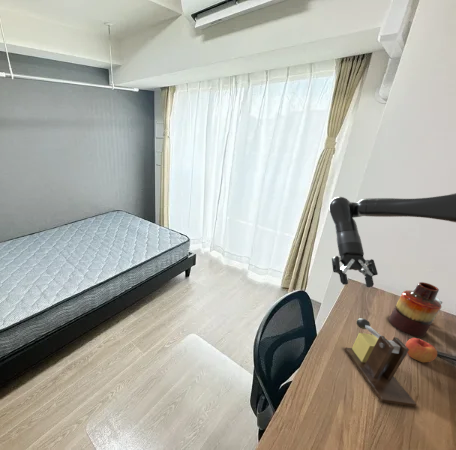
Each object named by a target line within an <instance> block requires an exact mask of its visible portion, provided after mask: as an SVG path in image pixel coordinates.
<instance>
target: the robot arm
mask: <svg viewBox="0 0 456 450" xmlns="http://www.w3.org/2000/svg"><path fill="white" fill-rule="evenodd" d="M328 210H329V214H330V216H331V218H332V221H333V223H334V229H335V234H336V244H337V248H338V249H337V250H338V255H339V256H338V255H336V256H333V257H331V265H332V273H337V274H338V275H339V280H340V283H341V284H342V285H344V286H346V285H349V280H348V276H347V272H348V270H350V271H351V270H353V271H358V272H359V273H360V274H362V275H363V276H364V281H365V287H366V288H373V287H374V285H375V283H374V278H373V277H375V276H378V274H379V273H378V270H377V266H376V263H375V260H374V259H372V258H371V259H365V257H364V256H365V255H364V254H365V253H364V248H363V244H362V240H361V236H360V234H359V230H358V226H357V222H356V220H355V219H354V218H361V217H371V218H373V217H378V218H380V217H381V218H391V217H392V218H395V217H397V218H398V217H405V218H406V217H407V218H423V219H433V220H439V221H446V222H451V223H456V192H454V193H450V194H444V195H437V196H431V197H417V198H398V197H397V198H395V197H376V198H375V197H374V198H373V197H372V198H371V197H369V198H362V199H360V200H359V201H356V202H354V201H353V202H352V201H350V200H349V199H348V198H346V197H344V196H336V197H334V198H332V199H331V200H330V202H329V205H328ZM340 263H341V264H342V265H341V264H340Z"/></svg>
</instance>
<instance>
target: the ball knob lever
mask: <svg viewBox="0 0 456 450" xmlns="http://www.w3.org/2000/svg"><path fill="white" fill-rule="evenodd" d="M356 325H357V327H358V328H359V329H361V330H367V331H368V332H369V333H370V334H373V335H374V336H376V337H377V338H378V339H379V337H380V336H382V335H381V334H380V332H378V331H376V330H375V329H374V328H373V327H371V323H370V322H369V320H368V319H366V318H364V317H363V318H362V317H361V318H358V319H357V320H356ZM387 340H388V341H389V342H390V343H391V345H392V346H393V347H394V349H393V351H392V353H397V354H399V350H400V346H399V345H398V344H396V343H395V342H394V341H392V340H391V339H390V340H389V339H387Z"/></svg>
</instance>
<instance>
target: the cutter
mask: <svg viewBox="0 0 456 450" xmlns="http://www.w3.org/2000/svg"><path fill="white" fill-rule="evenodd" d="M388 340H389V339H387V338H386V337H385V336H384V335H381V336H380V337H379V339H378V340H377V342H376V344H375V346H374V348H373V350H372V352H371V354H370V356H369V358H368V360H367V361H366V363H365V362H361V360H360V359H359V358H358V356H357V355H356V354H355V352H354V351H353V350H352V348H351V347H345V348H344V351H345V352H346V354H347V355H348V356H349V358H350V359H351V361H352V363H353V364H354V365H355V367H356V368H357V369H358V371H359V373H361V375H362V376H363V378H364V379H365V381H366V382H367V384H368V386H370V388H371V389H372V391H373V393H374V394H375V395H376V396H377V398H378V400H379V401H380V402H381V403H388V404H393V405H394V404H395V405H401V406H408V407H416V405H417V403H416V402H415V400H414V399H413V398H412V397H411V396H410V394H409V393H408V392H407V391H406V390H405V388H404V387H403V386H402V385H401V384H400V382H399V381H398V380H397V379H396V378H395V374H396V373H397V371H398V369H399V367H400V366H401V364H402V362H403V361H404V359H405V358H406V356H407V355H408V353H407V352H408V351H409V349H408V348H407V347H406V344H405V343H403V341H402V340H401V339H399V338H398V337H395V336H394V337H393V338H392V340H391V341H394V342H395V343H396V344H398V345H399V346H400V350H399V354H397V353H392V351H393V349H394V347H393V346H392V345H391V343H390V342H389V341H388Z"/></svg>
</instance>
